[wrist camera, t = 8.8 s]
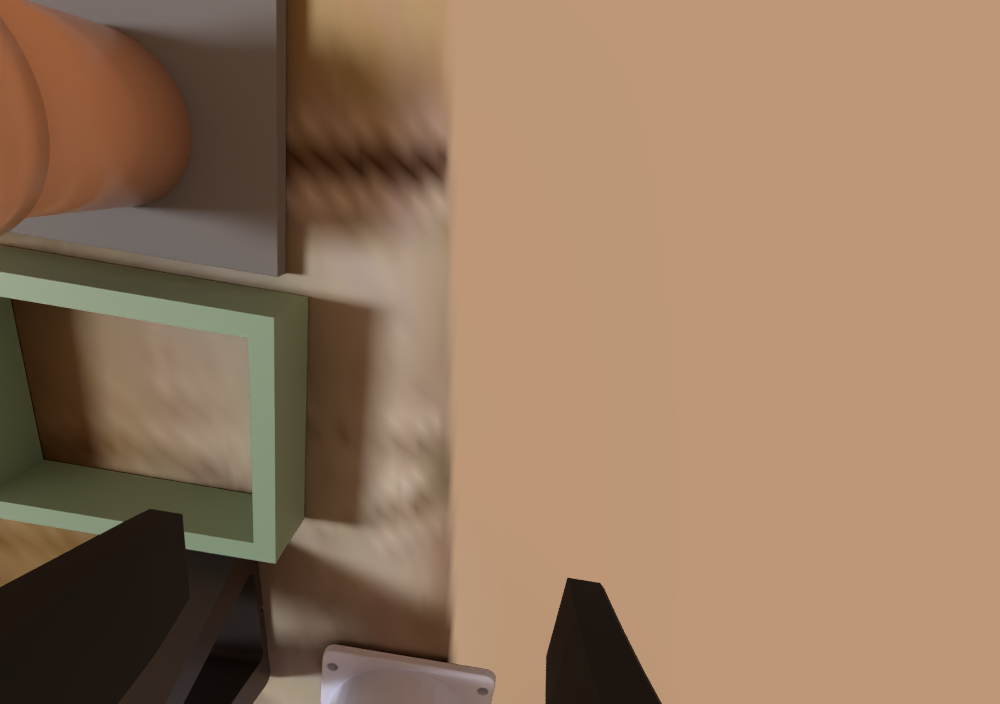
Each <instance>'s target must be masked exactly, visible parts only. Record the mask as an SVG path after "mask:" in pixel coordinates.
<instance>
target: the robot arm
mask: <svg viewBox="0 0 1000 704" xmlns="http://www.w3.org/2000/svg"><path fill="white" fill-rule="evenodd" d="M189 598H190V592H189V580H188V569H187V558H186V547H185V536H184V525H183V514H179V513H173V512H167V511H161V510H155V509H148V510H146V511H144V512H142V513H140V514H138V515H136V516H134V517H132V518H130V519H128V520H126V521H124V522H122V523H121V524H119V525H117V526H115V527H113V528H111V529H109V530H107V531H105V532H104V533H102V534H100V535H98V536H96V537H94V538H92V539H90V540H89V541H87V542H85V543H83V544H81V545H79V546H77V547H75V548H74V549H72V550H70V551H68V552H66V553H64V554H62V555H61V556H59V557H57V558H55V559H53V560H51V561H49V562H47V563H45V564H43V565H42V566H40V567H38V568H36V569H34V570H32V571H30V572H28V573H26V574H24V575H23V576H21V577H19V578H17V579H15V580H13V581H11V582H9V583H7V584H5V585H4V586H2V587H0V704H118V703H119V702H120V700H121V699H122V698H123V697H124V695H125V694H126V693H127V691H128V690H129V689H130V687H131V686H132V685H133V683H134V682H135V681H136V679H137V678H138V677H139V675H140V674H141V673H142V671H143V670H144V669H145V667H146V666H147V665H148V663H149V662H150V661H151V659H152V658H153V657H154V655H155V654H156V652H157V651H158V649H159V647H160V646H161V644H162V643H163V641H164V640H165V638H166V636H167V635H168V633H169V632H170V630H171V628H172V627H173V625H174V623H175V622H176V620H177V618H178V617H179V615H180V613H181V611H182V610H183V608H184V606H185V605H186V603H187V601H188V600H189ZM494 687H495V675H494V673H493V672H491V671H490V670H487V669H482V668H476V667H470V666H463V665H458V664H452V663H446V662H439V661H433V660H427V659H421V658H415V657H409V656H403V655H397V654H391V653H385V652H379V651H373V650H366V649H360V648H354V647H348V646H342V645H329V646H328V647H327V648H326V649H325V652H324V654H323V659H322V683H321V704H491V701H492V696H493V692H494ZM546 704H662V703H661V701H660V700H659V698H658V696H657V694H656V692H655V690H654V689H653V687H652V685H651V683H650V681H649V679H648V677H647V676H646V674H645V672H644V670H643V668H642V666H641V664H640V662H639V660H638V658H637V656H636V655H635V652H634V650H633V648H632V646H631V644H630V642H629V640H628V638H627V636H626V634H625V633H624V630H623V628H622V626H621V624H620V622H619V620H618V618H617V616H616V613H615V611H614V609H613V607H612V605H611V603H610V600H609V598H608V596H607V594H606V592H605V589H604V588H603V586H602V585H601V584H600V583H597V582H591V581H584V580H578V579H572V578H567V582H566V585H565V589H564V593H563V596H562V601H561V604H560V608H559V611H558V615H557V619H556V622H555V626H554V630H553V633H552V637H551V641H550V645H549V648H548V652H547V657H546Z"/></svg>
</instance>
